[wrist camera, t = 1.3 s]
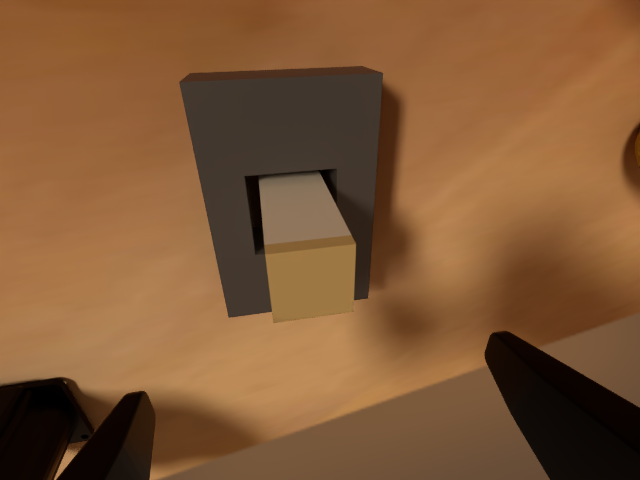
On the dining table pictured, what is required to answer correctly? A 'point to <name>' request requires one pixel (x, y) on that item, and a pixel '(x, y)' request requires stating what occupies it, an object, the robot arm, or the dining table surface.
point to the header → (282, 159)
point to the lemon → (637, 149)
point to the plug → (305, 247)
